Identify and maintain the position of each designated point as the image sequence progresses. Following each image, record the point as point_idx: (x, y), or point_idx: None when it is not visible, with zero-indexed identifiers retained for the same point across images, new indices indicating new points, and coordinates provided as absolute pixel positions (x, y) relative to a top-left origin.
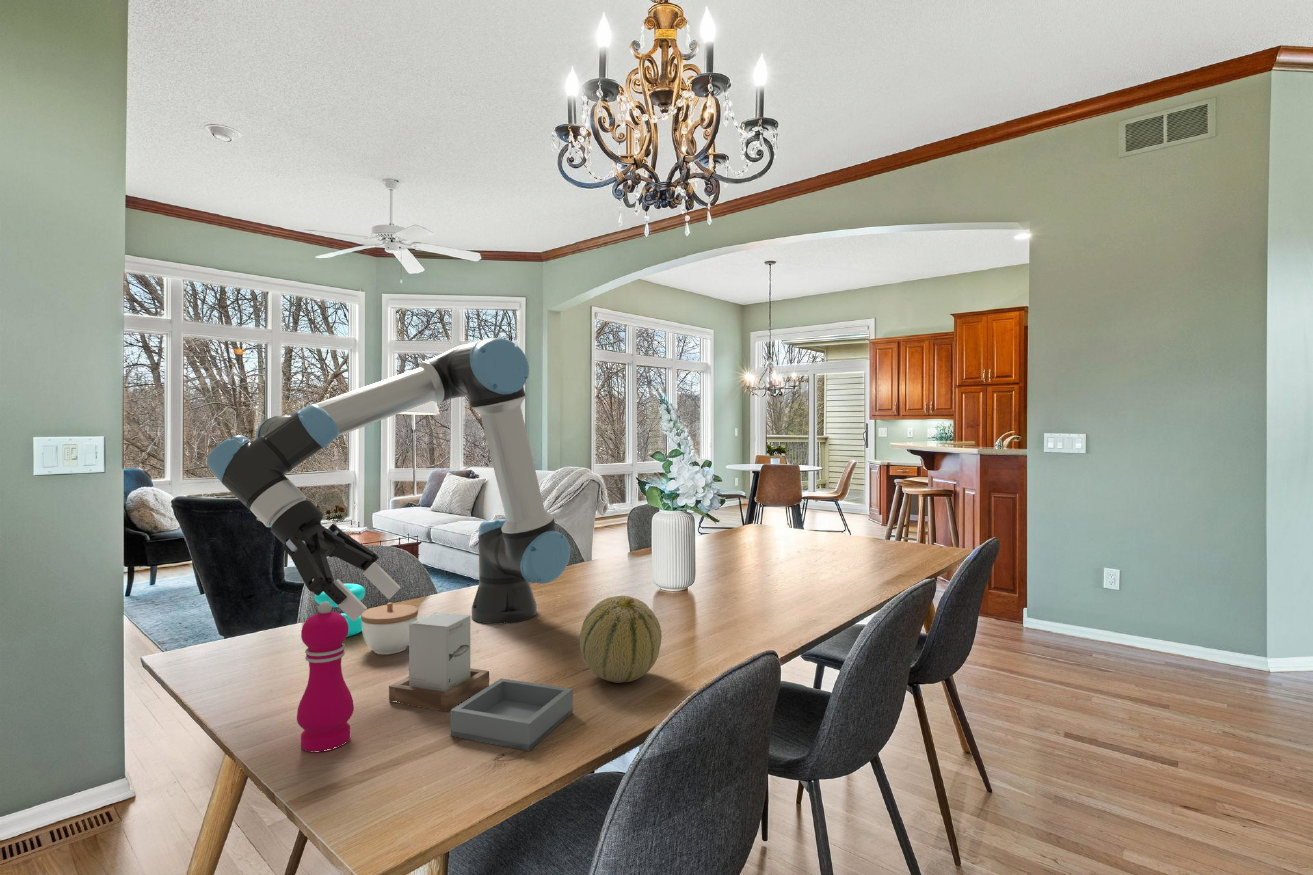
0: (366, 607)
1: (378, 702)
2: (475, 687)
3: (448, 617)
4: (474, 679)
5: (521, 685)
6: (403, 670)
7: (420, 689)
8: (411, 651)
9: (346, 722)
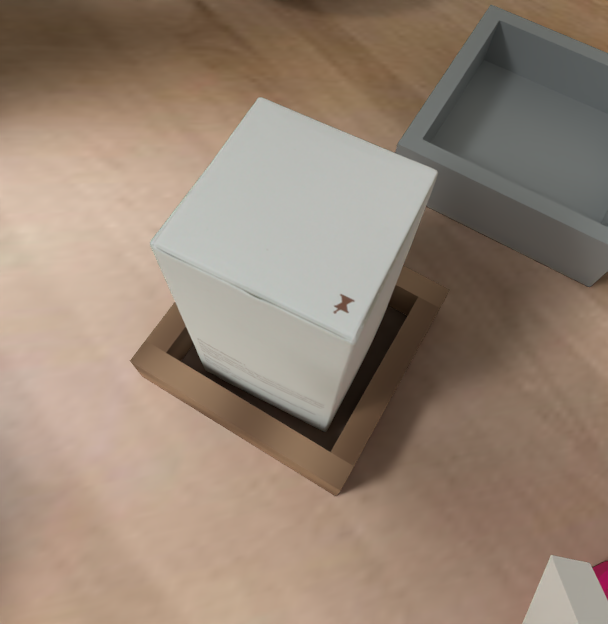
0: (558, 562)
1: (336, 532)
2: None
3: (289, 173)
4: None
5: (447, 101)
6: (29, 502)
7: (387, 374)
8: (347, 376)
9: (604, 581)
